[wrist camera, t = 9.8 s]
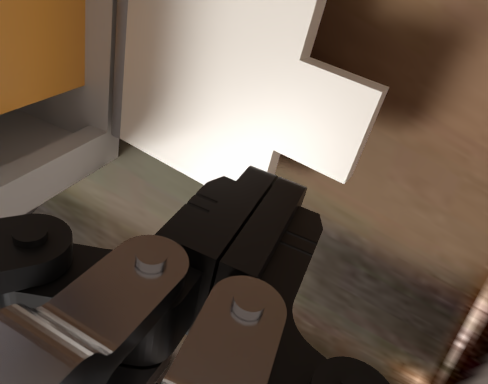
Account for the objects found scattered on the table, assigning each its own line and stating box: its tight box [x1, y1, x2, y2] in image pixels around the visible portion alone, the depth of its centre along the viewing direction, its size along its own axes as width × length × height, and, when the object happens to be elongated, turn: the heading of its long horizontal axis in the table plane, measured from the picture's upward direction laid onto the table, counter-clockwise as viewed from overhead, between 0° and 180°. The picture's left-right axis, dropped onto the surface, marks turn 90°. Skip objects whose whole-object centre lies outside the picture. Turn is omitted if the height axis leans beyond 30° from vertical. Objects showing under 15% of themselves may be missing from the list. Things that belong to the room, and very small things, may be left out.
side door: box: [111, 0, 389, 185], centre depth 19 cm, size 11×1×13 cm
